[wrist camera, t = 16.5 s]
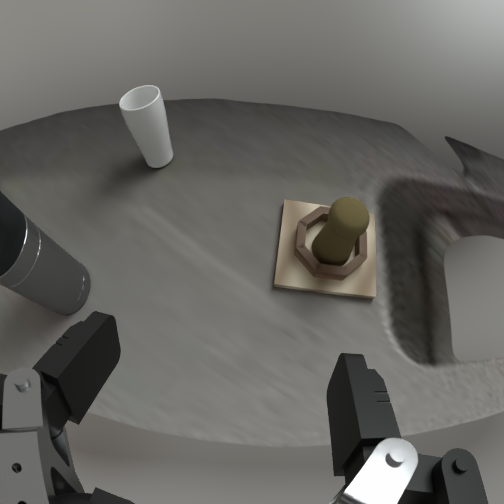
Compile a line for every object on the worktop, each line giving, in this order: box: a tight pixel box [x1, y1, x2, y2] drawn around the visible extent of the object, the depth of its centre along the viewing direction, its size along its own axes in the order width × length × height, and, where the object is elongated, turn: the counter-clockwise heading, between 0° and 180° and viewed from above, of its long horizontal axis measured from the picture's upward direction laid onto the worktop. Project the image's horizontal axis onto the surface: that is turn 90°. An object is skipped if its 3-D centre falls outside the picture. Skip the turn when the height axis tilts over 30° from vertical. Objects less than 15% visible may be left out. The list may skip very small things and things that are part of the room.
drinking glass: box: [119, 85, 173, 168], centre depth 45 cm, size 7×7×15 cm
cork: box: [312, 197, 370, 266], centre depth 38 cm, size 6×6×11 cm
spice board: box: [274, 200, 376, 299], centre depth 43 cm, size 15×14×4 cm
